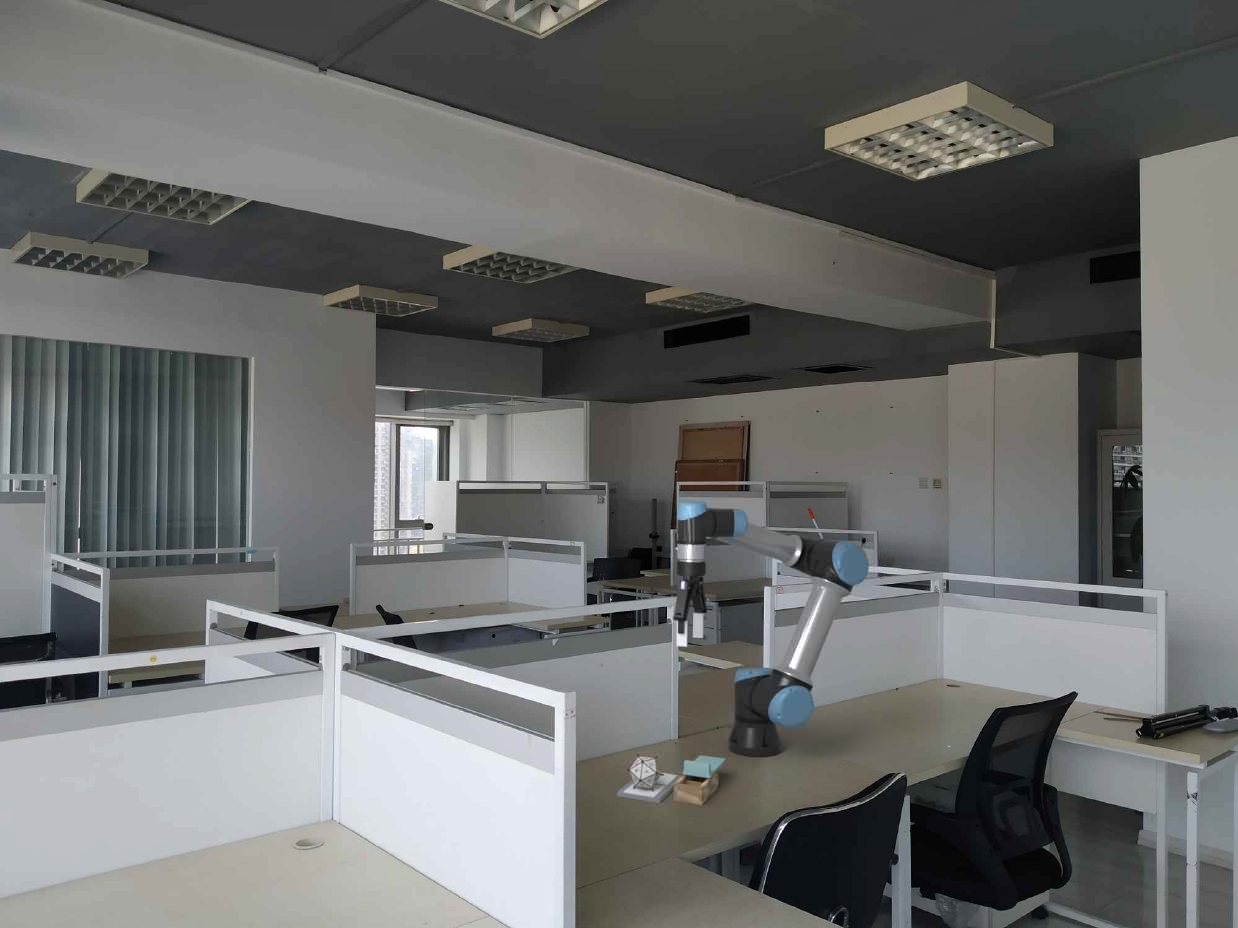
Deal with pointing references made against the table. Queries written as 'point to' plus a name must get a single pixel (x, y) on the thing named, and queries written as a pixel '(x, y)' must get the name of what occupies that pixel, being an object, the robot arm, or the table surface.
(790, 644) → the robot arm
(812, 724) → the table surface
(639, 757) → the game die
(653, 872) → the table surface
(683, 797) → the box
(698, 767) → the lid
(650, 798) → the board
